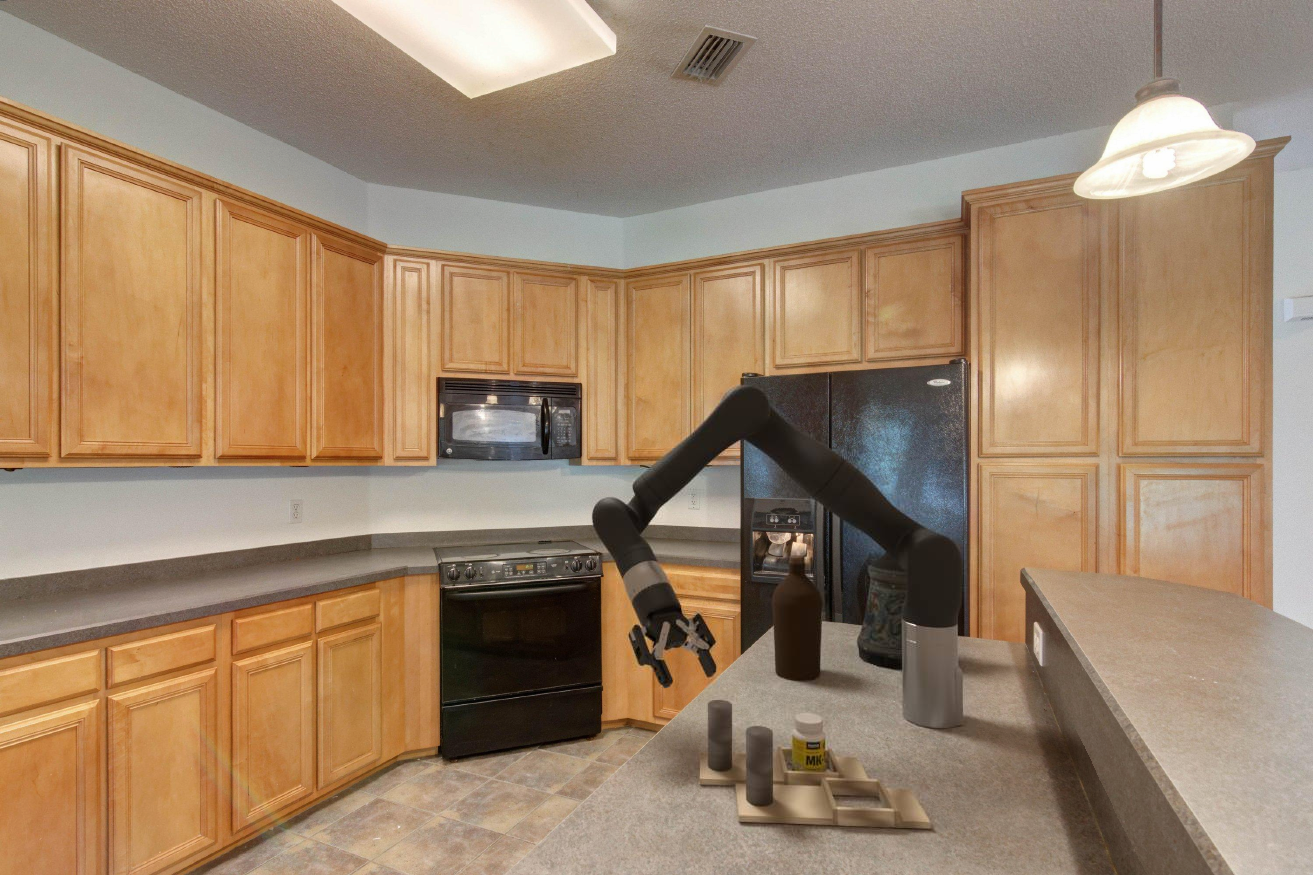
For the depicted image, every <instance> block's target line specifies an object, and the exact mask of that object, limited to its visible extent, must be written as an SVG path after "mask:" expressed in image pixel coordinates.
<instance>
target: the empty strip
mask: <svg viewBox="0 0 1313 875" xmlns="http://www.w3.org/2000/svg"><path fill="white" fill-rule="evenodd" d="M773 742H774V732H773V730H772V729H771V728H769V727H767V726H762V725H753V726H749V727H747V728H746V729H745V754H746V784H742V783H735V785H734V786H735V788H734V789H735V796H736V807H737V816H738V817H737V818H738V822H743V823H746V822H747V823H770V824H771V823H772V824H792V825H793V824H795V825H796V824H798V825H799V824H800V825H821V826H822V825H823V826H826V825H827V826H848V827H849V826H850V827H851V826H852V827H855V826H856V827H875V828H877V827H879V828H880V827H881V828H900V829H901V828H906V829H907V828H908V829H910V828H911V829H931V828H932V826H931V825H932V822H931V820H930V819H929V817H928V815H927V814H926V812H925V811H924V809H923V808H922V806H921V804H920V802H919V801H918V800H917V797H916V795H914V793H913V791H912V790H911V789H910V788H893V787H892V788H889V787H886V785H885V783H884V782H883V780H882V779H881V778H879V779H877V778H876V779H875V778H868V779H854V778H823V777H821V786H802V785H773V755H774V743H773ZM833 795H834V796H837V795H839V796H860V797H861V796H862V797H863V796H868V797H878V799H879V800H880V801H879V802H881V805H882V806H883V807H862V806H861V807H857V806H856V807H853V806H837V804H836V801H835V798H834V796H833Z"/></svg>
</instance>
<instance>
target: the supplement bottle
mask: <svg viewBox="0 0 1313 875" xmlns="http://www.w3.org/2000/svg"><path fill="white" fill-rule="evenodd" d="M823 724H824V723H823V718H822V717H821V716H820V715H818V714H815V713H812V712H802V713H801V712H800V713H797V714H796V715H795V716H794V728H793V730H792V733H791V734H792V736H791V739H792V740H791V741H792V742H791V743H792V744H791V747H792V762H791V764H792V766H791V768H792V769H791V771H810V772H826V763H825V748H826V733H825V731H823V728H824V725H823Z"/></svg>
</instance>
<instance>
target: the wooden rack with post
mask: <svg viewBox="0 0 1313 875" xmlns="http://www.w3.org/2000/svg"><path fill="white" fill-rule="evenodd" d="M776 752H777V754H773V785H802V786H821V777H823V778H854V779H869V777H868V775H867V773H866V771H865V769H864V766H863V765H862V763H861V761H860V759H859V758H858V756H857V757H855V756H835V753H834V751H833V749H832V748H831V747H830V748H826V747H825V764H827V765H828V766H829V769H830V770H831V771H825V772H810V771H792V770H788V766H787V763H792V746H791V747H789V746H777V749H776ZM735 783H742V784H746V753H733V703H732V702H730V701H728V700H725V699H714V700H710V701H708V703H707V752H699V785H710V786H711V785H714V786H715V785H716V786H735Z"/></svg>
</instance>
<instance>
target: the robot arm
mask: <svg viewBox="0 0 1313 875" xmlns="http://www.w3.org/2000/svg"><path fill="white" fill-rule="evenodd" d="M741 440H743V441H745V442H747V443H749V444H750V445H751V446H753V447H755V448H756V449H758V450H759V451H761V452H762V453H764V454H765V455H767V456H768V457H769V458H770V459H771V460H772V461H773V462H775V464H776V465H777V466H778V467H779V468H780V469H782V471H783V472H784V473H785V474H786V475H787V476H788V477H789V478H790V479H791V480H792V481H793V482H794V483H795V484H797V485H798V486H799V487H800V488H801V489H802V490H803V491H804V492H806V494H808V495H809V496H810V497H812V498H813V499H814V500H815V501H816V502H818V503H819V504H820V505H821V506H822V507H824V508H825V509H826V510H828V511H829V512H831V513H832V514H834V515H835V516H837V517H838V518H839V519H841V520H842V521H844V522H845V523H847V524H849V525H851V526H852V527H853V528H855V529H857V530H859V531H860V532H862V533H863V534H865V535H867V536H868V537H869V538H870V539H872V540H873V541H874V542H875V543H876V544H877V545H878V546H880V547H881V549H882V550H884V551H885V553H886V552H887V553H888V554H889V555H890V556H891V557H892V558H893V559H894V560H895V561H896V562H897V563H898V564H899V565H900V566H901V568H902V569H903V570H904V571H905V572H906V573H907V596H906V600H905V602H904V603H903V604H902V670H901V672H902V674H901V676H902V677H901V678H902V679H901V681H902V682H901V684H902V685H901V686H902V688H901V689H902V690H901V691H902V693H901V694H902V702H901V703H902V704H901V705H902V716H903V717H904V718H905V719H906V720H907V721H909V722H911V723H913V724H916V725H918V726H923V727H925V728H926V727H927V728H931V729H933V728H934V729H948V728H954V727H956V726H964V686H963V685H964V680H963V675H964V674H963V670H962V668H961V667H959V642H958V641H959V637H958V633H959V632H958V631H959V630H958V629H959V628H958V623H959V620H958V616H959V612H960V611H961V607H962V601H963V600H962V598H963V595H962V594H963V559H962V555H961V552H960V549H959V547H958V546H957V544H956V543H955V541H954V540H952V539H951V538H949V537H948V536H946V535H944V534H941V533H939V532H936V531H933V530H931V529H929V528H927V527H925V526H924V525H922V524H920V523H919V522H918V521H916V520H914V519H912V518H911V517H910V516H908V515H907V514H905V513H904V512H903V511H901V510H899V509H898V508H897V507H896V506H895V505H894V504H892V503H891V502H890V501H889V500H888V498H886V496H885V495H884V494H883V492H881V491H880V489H879V488H878V487H877V486H876V485H875V484H874V483H873V482H872V480H870V479H869V478H868V477H867V476H866V475H865V474H864V473H863V472H862V470H860V469H859V468H858V467H856V466H854V465H853V464H852V463H851V462H850V461H848V460H847V459H846V458H844V457H843V456H842V455H840V454H839V453H838V452H836V451H835V450H834V449H831V448H830V447H828V446H827V445H825V444H823V443H821V442H820V441H818V440H816V439H815V438H813V437H811V436H809V435H808V434H806V433H805V432H802V431H800V430H799V429H797V428H796V427H794V426H793V425H792V424H790V423H789V422H788V421H787V420H786V419H785V418H784V417H783V416H782V415H781V414H779V413H778V412H777V411H776V409H774V408H773V407H772V406H771V405H770V402H769V399H768V396H767V395H766V394H765V392H764V391H763V390H761V389H760V388H758V387H757V386H753V385H749V384H740V385H737V386H734V387H732V388H730V389H729V390H728V391H727V392H726V393H725V394H724V395H723V396H722V398H721V400H720V402H719V403H718V404H717V406H715V408H714V409H713V410H712V411H711V413H710V414H709V415H708V416H707V417H706V419H705V420H704V421H702V422H701V423H700V425H699V426H698V427H696V428H695V430H693V432H691V433H690V434H689V435H688V436H687V437H685V439H683V440H682V441H680V443H678V444H677V445H675V446H674V447H673V448H671V449H670V450H669V451H668V452H667V453H666V454H664V455H663V456H662V457H661V458H659V459H658V460H657V461H656V462H654V463H653V464H652V465H651V466H649V467H648V468H647V469H646V471H644V472H643V473H642V474H641V475H639V476H638V477H636V479H635V480H634V482H633V483H632V491H633V494H634V495H633V497H632V498H631V499H630V501H629V502H628V503H625V502H624V501H623V500H621V499H619V498H616V497H613V496H612V497H611V496H608V497H604V498H601V499H600V500H599V501H597V502H596V504H595V505H594V507H593V509H592V513H591V521H592V526H593V528H594V530H595V533H596V536H598V538H599V540H601V542H602V544H603V545H604V548H606V550H607V551H608V553H609V554H610V556H611V558H613V560H614V563H615V565H616V568H617V570H618V572H619V575H620V576H621V579H622V582H623V585H624V588H625V592H626V594H627V596H628V599H629V602H630V604H631V605H632V608H633V610H634V612H635V615H636V617H637V620H638V622H639V623H640V625H639V624H634V625H633V626H632V628H631V629H630V631H629V633H628V635H627V636H628V639H629V641H630V645H631V648H632V650H633V653H634V656H635V658H636V660H637V664H638V665H639V666H640V667H644V666H645V665H646V666H649V667H650V668H652V669H653V672H654V676H656V679H657V682H658V683H659V685H661V686H662V688H664V689H667V688H670V687H671V685H672V684H673V682H674V679H673V676H672V674H671V672H670V670H669V667H668V665H667V663H666V661H665V659H662V658H663V654H664V651H669V650H671V649H680V648H683V649H685V650H686V651H690V652H692V653H693V654H695V655H696V656H698V657H697V660H698V662H699V664H700V666H701V668H702V669H703V671H704V674H705V677H706V678H711V677H713V676H714V675H715V674H716V673H717V669H718V668H717V664H716V662H715V659H714V658H713V656H712V654H711V652H710V650H711V649H712V648H713V647H714V646H715V644H716V643H717V641H716V638H715V637H714V635H713V634H712V632H711V630H710V628H709V626H708V625H707V623H706V621H705V620H704V618H703V616H702V615H701V614H700V613H696V614H695V615H694V616H693V617H690V618H687V616H686V615H684V614H683V612H682V611H683V610H682V605H681V603H680V600H679V598H678V597H677V594H676V592H675V590H674V589H673V586H672V584H671V582H670V580H669V579H668V576H667V574H666V572H665V571H664V570H663V568H662V566H661V564H660V563H659V561H658V559H657V557H656V554H655V553H654V551H653V549H652V547H651V545H650V544H649V543H648V541H647V540H646V539H645V538H644V537H642V535H641V534H643V532H644V531H645V530H646V529H647V527H648V526H649V524H650V523H651V522H652V521H653V519H654V517H656V515H657V513H658V512H659V510H660V509H661V508H662V507H663V506H665V505H666V503H668V502H669V501H671V499H673V497H675V496H676V495H677V494H678V493H679V492H681V491H682V490H683V489H684V488H685V487H686V486H687V485H688V484H689V483H691V482H692V480H694V478H695V477H696V476H697V475H699V473H701V472H702V471H703V469H705V467H706V466H707V465H709V464H710V463H711V462H712V461H714V459H715V458H718V456H719V455H721V454H722V453H723V452H724V451H726V450H727V449H729V448H730V447H732V446H733V445H734V444H736V443H738V442H739V441H741ZM645 638H647V639H648V640H650V641H651V642H652V645H651V650H650V649H649V646H648V644H647V640H646V639H645ZM688 638H689V639H690V640H687V639H688Z"/></svg>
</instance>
